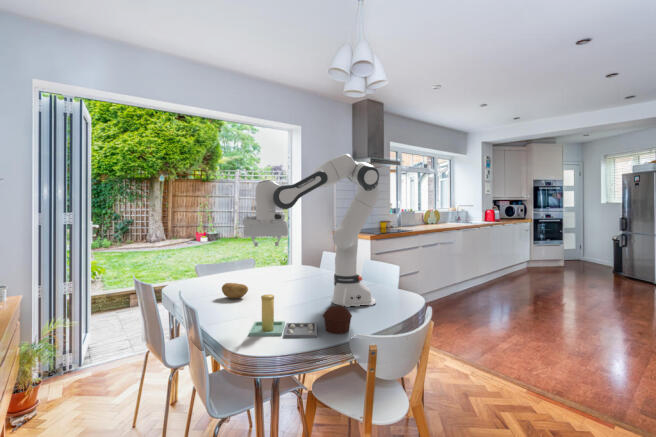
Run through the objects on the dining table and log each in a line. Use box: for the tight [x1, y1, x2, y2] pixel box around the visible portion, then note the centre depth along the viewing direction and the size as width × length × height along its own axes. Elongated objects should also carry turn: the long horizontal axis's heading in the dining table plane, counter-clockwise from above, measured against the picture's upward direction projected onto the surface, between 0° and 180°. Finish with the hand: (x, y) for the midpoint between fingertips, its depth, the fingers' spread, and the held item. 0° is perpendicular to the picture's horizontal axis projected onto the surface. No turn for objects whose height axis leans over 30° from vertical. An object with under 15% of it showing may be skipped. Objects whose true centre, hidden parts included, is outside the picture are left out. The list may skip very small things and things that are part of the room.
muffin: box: [322, 304, 353, 335], centre depth 125 cm, size 12×11×10 cm
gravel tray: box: [283, 322, 318, 339], centre depth 124 cm, size 12×12×2 cm
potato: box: [221, 282, 249, 300], centre depth 171 cm, size 10×14×8 cm
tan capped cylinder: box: [260, 294, 275, 332], centre depth 125 cm, size 5×5×13 cm
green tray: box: [248, 320, 286, 337], centre depth 125 cm, size 12×12×2 cm
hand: (266, 246), depth 148 cm, fingers open, 8 cm apart
